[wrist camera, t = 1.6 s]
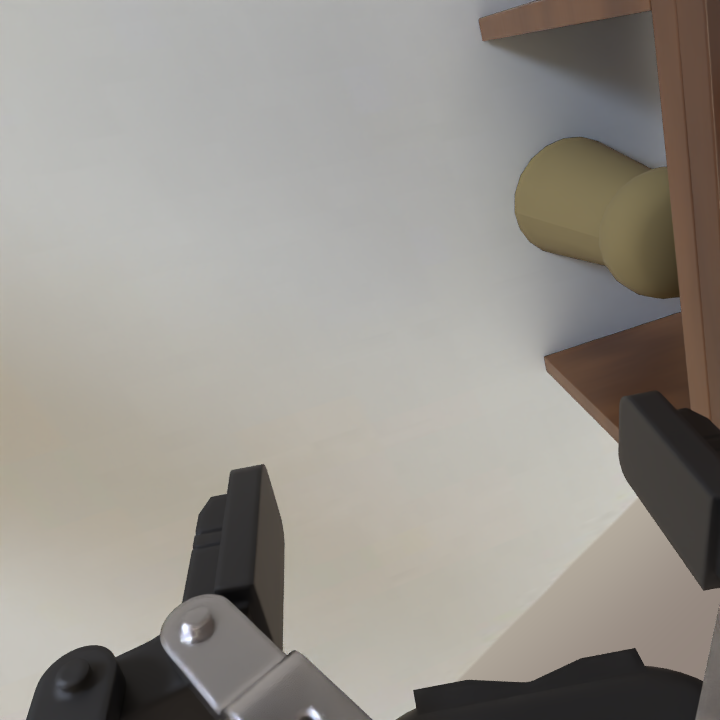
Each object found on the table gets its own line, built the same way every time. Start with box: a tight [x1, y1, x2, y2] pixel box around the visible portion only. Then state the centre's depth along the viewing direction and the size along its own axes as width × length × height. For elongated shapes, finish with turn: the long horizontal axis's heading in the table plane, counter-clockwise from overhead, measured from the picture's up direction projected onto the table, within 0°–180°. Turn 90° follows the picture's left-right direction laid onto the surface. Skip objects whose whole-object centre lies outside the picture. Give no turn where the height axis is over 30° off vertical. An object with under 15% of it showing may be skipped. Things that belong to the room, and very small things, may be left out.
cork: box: [515, 137, 680, 299], centre depth 30 cm, size 6×6×11 cm
